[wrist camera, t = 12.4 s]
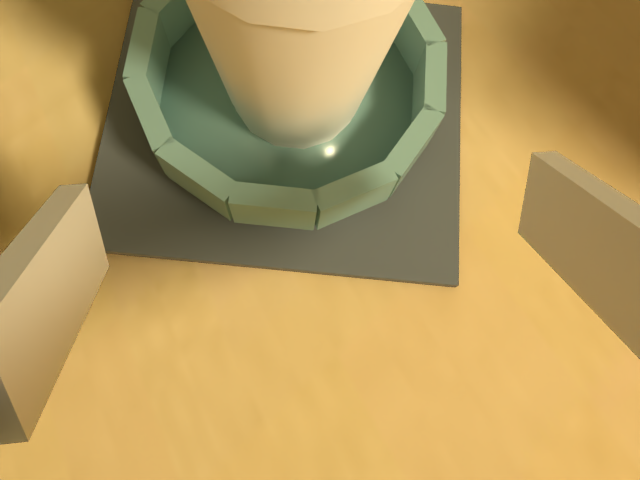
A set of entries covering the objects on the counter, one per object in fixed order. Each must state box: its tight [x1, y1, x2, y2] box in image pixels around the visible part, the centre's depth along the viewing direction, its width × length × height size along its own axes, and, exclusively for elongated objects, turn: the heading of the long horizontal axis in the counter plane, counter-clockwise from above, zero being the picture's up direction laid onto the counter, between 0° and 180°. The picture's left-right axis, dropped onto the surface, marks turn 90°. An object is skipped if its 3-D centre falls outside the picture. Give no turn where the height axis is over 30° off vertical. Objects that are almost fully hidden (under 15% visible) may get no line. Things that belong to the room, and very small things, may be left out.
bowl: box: [122, 0, 447, 230], centre depth 25 cm, size 14×14×3 cm
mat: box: [90, 0, 461, 287], centre depth 27 cm, size 18×16×1 cm
